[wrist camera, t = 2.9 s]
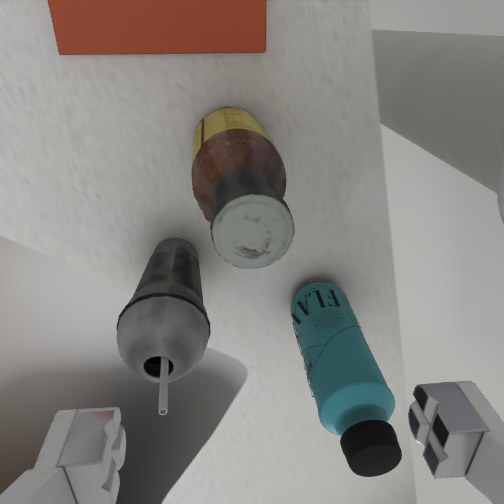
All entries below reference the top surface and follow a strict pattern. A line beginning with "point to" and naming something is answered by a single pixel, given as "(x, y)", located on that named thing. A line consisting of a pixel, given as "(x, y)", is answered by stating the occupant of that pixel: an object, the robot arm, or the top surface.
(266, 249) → the sauce bottle
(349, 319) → the beverage bottle
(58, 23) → the condiment mat
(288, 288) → the top surface
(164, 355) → the beverage cup
